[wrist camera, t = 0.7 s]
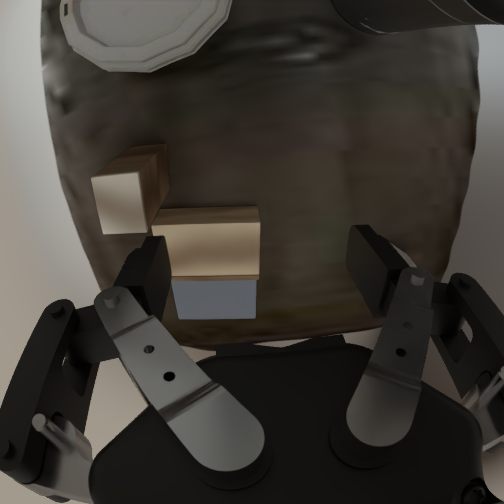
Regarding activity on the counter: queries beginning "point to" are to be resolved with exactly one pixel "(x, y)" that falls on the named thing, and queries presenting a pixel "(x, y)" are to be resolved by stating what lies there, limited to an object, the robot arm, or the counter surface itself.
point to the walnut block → (132, 189)
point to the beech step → (211, 242)
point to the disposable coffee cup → (140, 30)
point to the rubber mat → (215, 299)
